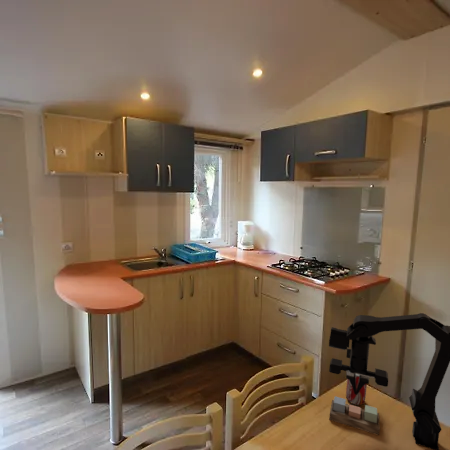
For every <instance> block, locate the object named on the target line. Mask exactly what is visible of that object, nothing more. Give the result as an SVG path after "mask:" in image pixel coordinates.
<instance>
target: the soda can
mask: <svg viewBox="0 0 450 450" xmlns="http://www.w3.org/2000/svg"><path fill="white" fill-rule="evenodd" d="M358 380H359V374H356V389H357V384H358ZM367 386H368V384H365V385H364V386H363V387H362V388H361V390H360V391H359V393H358V394H357V395H355V394H354V391H353V387H352V385H351V383H350V381H349V379H347V378H346V388H345V389H346V390H345V391H346V392H345V396H346V398H345V399H346V401H347V400H348V402H349V403H351V405H354V406H360V405H361V406H362V405H365V403H366V399H367V398H366V396H367Z"/></svg>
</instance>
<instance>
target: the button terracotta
mask: <svg viewBox="0 0 450 450" xmlns="http://www.w3.org/2000/svg"><path fill="white" fill-rule="evenodd" d="M348 405H349V415H348V416H350V417H353V418H357V419H360V414H361V407H359V406H358V405H354V404H349V403H348Z"/></svg>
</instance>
